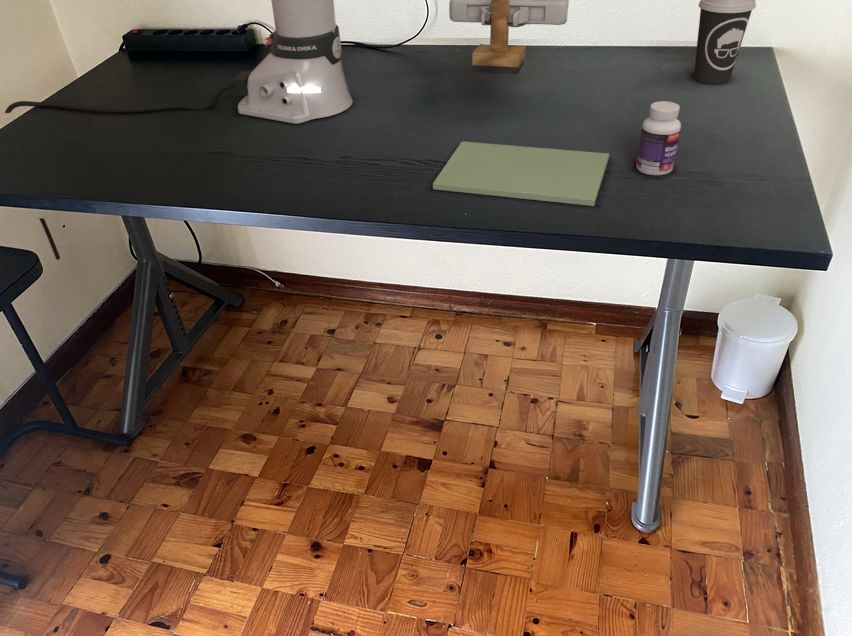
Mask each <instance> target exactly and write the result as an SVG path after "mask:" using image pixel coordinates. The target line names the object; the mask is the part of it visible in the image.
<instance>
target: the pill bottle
mask: <svg viewBox="0 0 852 636" xmlns="http://www.w3.org/2000/svg"><path fill="white" fill-rule="evenodd" d="M680 108H681V107H680V105H679V104H678V103H676V102H672V101H667V100H661V101H655V102H652V103H651V104H650V106H649V112H648V115H649V117H647V118H646V119H644V120H643V122H642V125H641V131H640V132H641V133H640V138H639V145H638V151H637V156H636V158H637V159H636V164H635V165H636V166H635V167H636V169H637V171H639V172H640V173H642V174H645V175H648V176H664V175H668V174H670V173H671V172H672V171H673V169H674V165H675V160H676V155H677V150H678V145H679V138H680V135H681V129H682V124H681V121H680V120H679V119H678V116H679V114H680Z"/></svg>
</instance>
